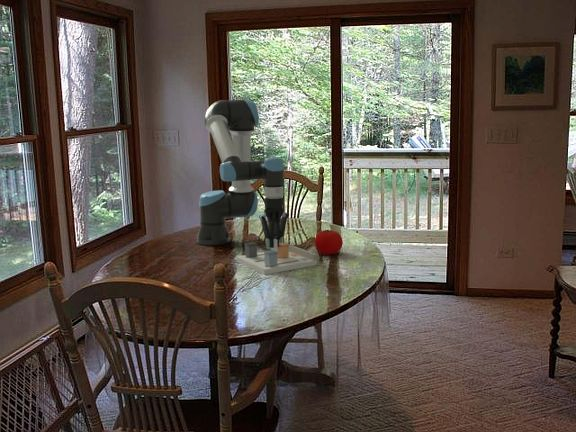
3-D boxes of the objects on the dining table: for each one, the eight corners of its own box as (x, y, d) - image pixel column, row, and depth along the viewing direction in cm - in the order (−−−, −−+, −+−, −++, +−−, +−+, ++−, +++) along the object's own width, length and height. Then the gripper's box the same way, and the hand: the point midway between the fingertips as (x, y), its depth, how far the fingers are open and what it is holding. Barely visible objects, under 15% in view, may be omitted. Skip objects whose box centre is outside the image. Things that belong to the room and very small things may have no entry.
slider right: (264, 264, 231) (264, 251, 230) (272, 262, 233) (272, 249, 232) (269, 266, 228) (269, 253, 226) (277, 265, 229) (277, 251, 228)
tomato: (324, 249, 262) (324, 225, 260) (347, 252, 256) (347, 229, 254) (309, 255, 253) (309, 230, 251) (332, 259, 246) (333, 234, 244)
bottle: (280, 252, 257) (280, 218, 254) (264, 252, 258) (264, 218, 255) (283, 248, 264) (283, 215, 261) (268, 248, 265) (267, 215, 262)
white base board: (236, 261, 244) (235, 250, 243) (286, 252, 257) (286, 242, 256) (264, 274, 225) (264, 263, 224) (316, 265, 238) (316, 254, 237)
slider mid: (276, 256, 243) (275, 243, 242) (284, 254, 245) (283, 242, 244) (281, 258, 239) (280, 245, 238) (289, 256, 241) (288, 244, 240)
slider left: (244, 255, 244) (244, 243, 243) (252, 254, 246) (252, 241, 245) (249, 257, 241) (248, 245, 240) (257, 256, 243) (257, 243, 242)
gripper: (264, 199, 229) (264, 259, 233) (292, 196, 236) (292, 255, 240) (254, 197, 235) (255, 255, 240) (282, 194, 242) (283, 251, 246)
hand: (274, 255), depth 240 cm, fingers closed
